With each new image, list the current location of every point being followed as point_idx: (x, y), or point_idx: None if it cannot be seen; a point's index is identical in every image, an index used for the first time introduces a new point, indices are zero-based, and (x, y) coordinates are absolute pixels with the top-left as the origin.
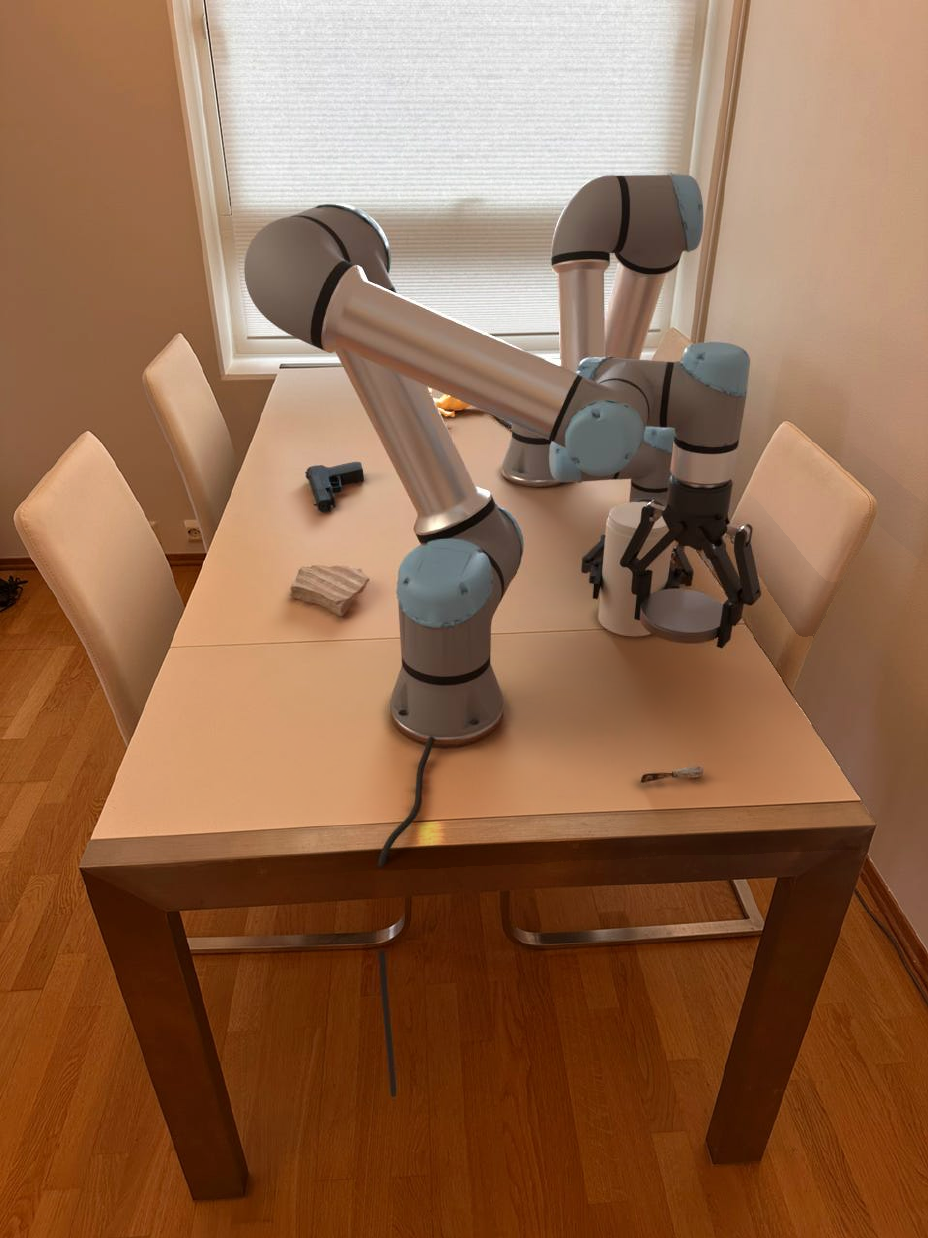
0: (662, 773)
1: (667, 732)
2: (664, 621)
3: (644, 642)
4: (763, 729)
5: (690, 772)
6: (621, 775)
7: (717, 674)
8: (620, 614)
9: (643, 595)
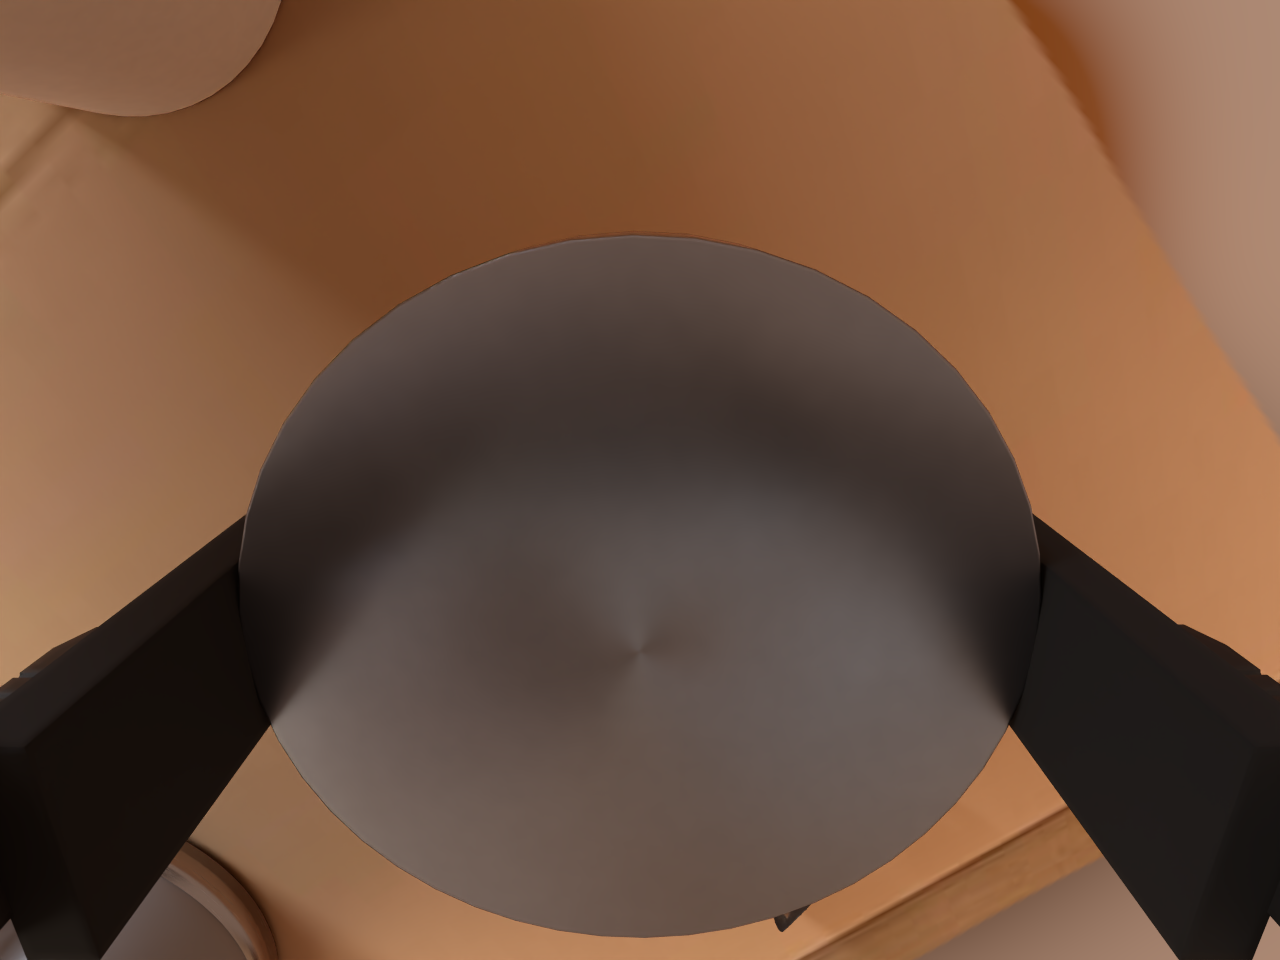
0: None
1: None
2: (590, 872)
3: (311, 98)
4: (1055, 432)
5: None
6: None
7: (760, 152)
8: (59, 95)
9: (232, 734)
